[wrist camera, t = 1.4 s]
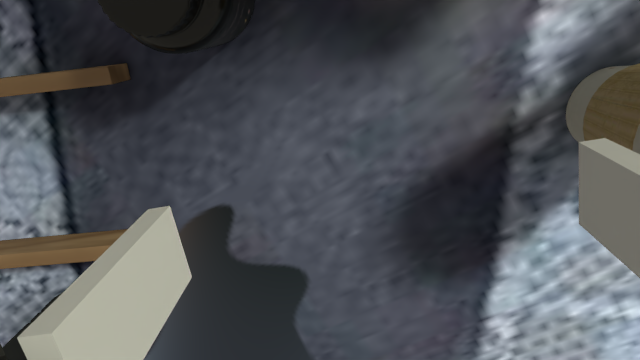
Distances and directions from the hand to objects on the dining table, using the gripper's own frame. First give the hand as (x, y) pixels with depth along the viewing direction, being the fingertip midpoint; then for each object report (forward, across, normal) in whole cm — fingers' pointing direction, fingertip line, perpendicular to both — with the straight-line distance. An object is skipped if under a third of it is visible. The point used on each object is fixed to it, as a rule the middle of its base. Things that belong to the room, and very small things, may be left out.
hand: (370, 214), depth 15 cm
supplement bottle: (+21, -9, +9) cm, 25 cm away
